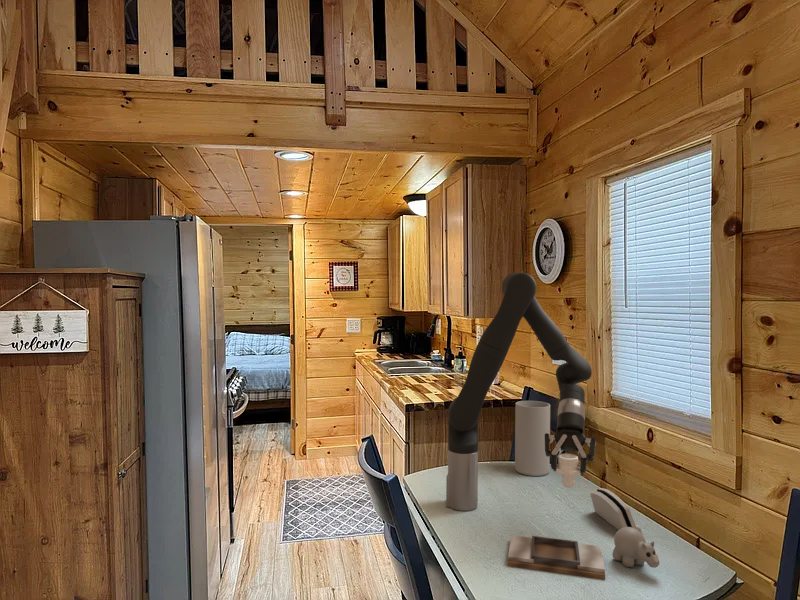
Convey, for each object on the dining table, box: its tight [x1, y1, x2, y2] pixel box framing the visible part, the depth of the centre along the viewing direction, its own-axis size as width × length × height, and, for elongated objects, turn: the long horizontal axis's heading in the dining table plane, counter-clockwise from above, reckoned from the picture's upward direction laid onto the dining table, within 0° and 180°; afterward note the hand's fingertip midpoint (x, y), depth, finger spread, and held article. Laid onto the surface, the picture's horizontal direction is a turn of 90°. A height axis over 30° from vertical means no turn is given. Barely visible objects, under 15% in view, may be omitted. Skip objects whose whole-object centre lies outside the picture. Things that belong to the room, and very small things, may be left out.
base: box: [507, 534, 606, 580], centre depth 133 cm, size 22×14×2 cm, turn 75°
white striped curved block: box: [590, 487, 643, 534], centre depth 154 cm, size 17×5×10 cm, turn 9°
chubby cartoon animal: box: [612, 527, 660, 569], centre depth 129 cm, size 7×12×8 cm, turn 20°
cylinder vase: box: [514, 400, 551, 477], centre depth 199 cm, size 12×12×25 cm
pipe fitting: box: [555, 453, 582, 488], centre depth 145 cm, size 6×7×8 cm
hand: (568, 471), depth 144 cm, fingers closed on pipe fitting, 6 cm apart
